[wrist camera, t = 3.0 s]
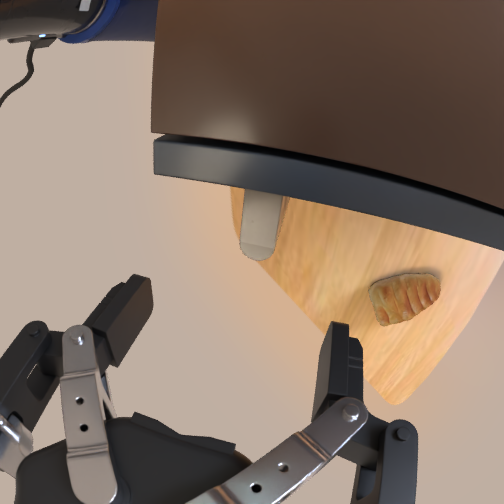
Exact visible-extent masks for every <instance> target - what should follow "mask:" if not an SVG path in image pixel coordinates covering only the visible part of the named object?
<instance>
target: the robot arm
mask: <svg viewBox="0 0 504 504" xmlns="http://www.w3.org/2000/svg"><path fill="white" fill-rule="evenodd" d="M107 3H108V0H0V40H6V39H7V41H8V42H9V43H18V42H25V41H30V42H31V44H30V47H29V50H28V54H27V59H26V63H27V67H28V73H27V75H26V76H25V78H24V79H23V80H21V81H20V82H19V83H17V84H15V85H14V86H12V87H11V88H10V89H9V90H7V91H6V92H5V93H4V94H3V96H2V97H1V98H0V107H1V105H2V103H3V102H4V100H5V99H6V98H7V96H9V95H10V94H11V93H12V92H13V91H15V90H17V89H18V88H20V87H21V86H23V85H24V84H25V83H26V82H27V81H28V80H29V79H30V78H31V76H32V74H33V72H34V67H33V63H32V56H33V52H34V49H36V48H43V47H49V46H50V45H51V44H52V43H53V42H54V41H55V40H56V38H65V37H66V36H67V35H69V34H78V33H81V32H84V31H86V30H87V29H89V28H90V27H91V26H93V25H94V24H95V23H96V22H97V20H98V19H99V18H100V17H101V15H102V13H103V12H104V10H105V8H106V6H107ZM152 310H153V296H152V288H151V280H150V278H147V277H143V276H140V275H136V274H133V275H132V276H131V277H130V278H129V279H128V281H127V282H126V283H123V282H121V283H119V284H118V285H116V286H114V287H113V288H112V289H111V290H110V291H109V292H108V293H107V295H106V297H104V299H103V300H102V301H101V303H99V305H98V306H97V307H96V308H95V310H94V311H93V312H92V313H91V314H90V316H89V317H88V318H87V320H86V321H85V322H84V323H83V324H82V325H75V326H72V327H70V328H69V329H67V330H66V331H65V332H59V331H49V329H48V327H47V325H46V324H45V323H44V322H42V321H32V322H30V323H28V324H27V325H26V326H25V327H24V328H23V329H22V330H21V332H20V333H19V334H18V336H17V337H16V338H15V339H14V341H13V342H12V344H11V345H10V346H9V348H8V349H7V350H6V352H5V353H4V354H3V356H2V357H1V358H0V471H3V472H6V473H8V474H9V475H11V476H12V477H14V478H15V479H16V495H15V501H14V504H280V503H281V502H283V501H284V500H286V499H287V498H288V497H289V496H291V495H292V494H293V493H294V492H296V491H297V490H298V489H299V488H300V487H301V486H303V485H304V484H305V483H306V482H307V481H308V480H309V479H311V478H312V477H313V476H314V475H315V474H316V473H318V472H319V471H320V470H321V469H322V468H323V467H324V466H325V465H326V464H327V463H329V462H330V461H331V460H332V459H333V458H334V457H335V456H336V455H338V456H340V457H342V458H345V459H347V460H349V461H352V462H354V463H356V464H357V467H356V474H355V480H354V486H353V492H352V498H351V503H350V504H415V496H416V483H417V463H418V462H417V461H418V433H417V430H416V428H415V427H414V426H413V425H412V424H411V423H410V422H408V421H406V420H400V419H399V420H394V421H392V422H391V423H388V422H386V421H383V420H381V419H379V418H376V417H375V416H373V415H371V414H370V413H369V412H368V410H367V408H366V406H365V405H364V402H363V348H362V346H361V344H360V342H359V340H358V339H357V338H352V337H349V324H345V323H339V322H334V321H331V323H330V325H329V328H328V331H327V333H326V336H325V338H324V341H323V344H322V347H321V350H320V355H319V362H318V372H317V381H316V389H315V397H314V404H313V412H312V419H311V422H312V423H311V424H310V425H309V426H307V427H306V428H305V429H304V430H302V431H301V432H296V433H294V434H293V435H291V436H290V437H289V438H287V439H286V440H285V441H283V442H282V443H281V444H279V445H278V446H277V447H276V448H274V449H273V450H271V451H270V452H269V453H267V454H266V455H265V456H263V457H262V458H260V459H259V460H257V461H256V462H255V463H252V462H251V461H250V460H249V459H248V458H247V457H246V456H244V455H243V454H241V453H240V452H238V451H236V450H235V446H236V444H234V443H230V442H226V441H223V440H219V439H215V438H212V437H203V436H189V435H181V434H178V433H177V432H175V431H174V430H172V429H171V428H169V427H167V426H166V425H164V424H163V423H161V422H159V421H158V420H156V419H153V418H150V417H147V416H145V415H142V414H140V413H137V412H134V414H133V416H132V417H118V418H117V415H116V412H115V409H114V406H113V402H112V397H111V392H110V386H109V381H108V376H107V371H106V369H107V368H108V366H109V364H110V365H112V366H115V367H118V366H119V365H120V363H121V362H122V360H123V358H124V357H125V355H126V354H127V352H128V350H129V349H130V347H131V345H132V344H133V342H134V341H135V339H136V338H137V336H138V334H139V333H140V331H141V330H142V328H143V326H144V325H145V323H146V322H147V320H148V319H149V317H150V315H151V313H152ZM36 364H37V365H36ZM35 365H36V366H35ZM34 366H35V368H34ZM33 368H34V369H33ZM32 369H33V371H32ZM31 371H32V372H31ZM30 372H31V374H30ZM29 374H30V375H29ZM28 376H29V377H28ZM27 377H28V378H27ZM59 383H60V391H61V403H62V412H63V421H64V429H65V436H66V439H64V440H62V441H59V442H57V443H55V444H52V445H50V446H47V447H45V448H42V449H41V450H38V451H35V452H33V453H31V452H32V451H33V437H32V434H31V433H32V431H33V429H34V427H35V426H36V424H37V422H38V420H39V418H40V416H41V415H42V413H43V411H44V409H45V407H46V406H47V404H48V402H49V400H50V399H51V397H52V395H53V393H54V392H55V390H56V388H57V387H58V385H59Z"/></svg>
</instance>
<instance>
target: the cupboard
mask: <svg viewBox="0 0 504 504" xmlns="http://www.w3.org/2000/svg"><path fill="white" fill-rule="evenodd" d="M151 132H152V133H160V134H171V135H181V136H191V137H200V138H208V139H216V140H224V141H231V142H238V143H245V144H252V145H258V146H264V147H270V148H276V149H282V150H288V151H293V152H298V153H304V154H309V155H314V156H319V157H323V158H328V159H333V160H337V161H342V162H346V163H351V164H355V165H359V166H363V167H367V168H372V169H376V170H379V171H383V172H387V173H391V174H395V175H398V176H402V177H406V178H409V179H413V180H416V181H420V182H423V183H427V184H430V185H433V186H437V187H440V188H443V189H446V190H449V191H452V192H456V193H459V194H462V195H465V196H468V197H471V198H473V199H476V200H479V201H482V202H485V203H488V204H490V205H493V206H496V207H499V208H501V209H504V0H159V2H158V11H157V21H156V32H155V44H154V58H153V76H152V101H151Z"/></svg>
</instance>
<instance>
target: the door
mask: <svg viewBox="0 0 504 504" xmlns="http://www.w3.org/2000/svg"><path fill="white" fill-rule="evenodd" d="M154 174H155V175H163V176H170V177H176V178H184V179H190V180H196V181H203V182H209V183H215V184H221V185H227V186H232V187H238V188H244V189H245V193H244V203H243V213H242V223H241V233H240V248H241V250H242V252H243V253H244V254H245V255H246V256H247V257H248V258H250V259H253V260H257V261H261V260H265V259H268V258H269V257H270V256H271V255H272V254H273V252H274V250H275V246H276V243H277V240H278V236H279V233H280V230H281V226H282V223H283V220H284V216H285V213H286V209H287V206H288V203H289V199H290V197H292V198H297V199H301V200H306V201H311V202H316V203H321V204H325V205H330V206H335V207H339V208H344V209H348V210H353V211H357V212H361V213H366V214H370V215H374V216H378V217H382V218H386V219H391V220H395V221H399V222H403V223H407V224H410V225H414V226H418V227H422V228H426V229H430V230H433V231H437V232H441V233H444V234H448V235H452V236H455V237H459V238H462V239H466V240H469V241H473V242H476V243H479V244H483V245H486V246H489V247H493V248H496V249H499V250H502V251H504V209H501V208H499V207H496V206H493V205H490V204H488V203H485V202H482V201H479V200H476V199H473V198H471V197H468V196H465V195H462V194H459V193H456V192H452V191H449V190H446V189H443V188H440V187H437V186H433V185H430V184H427V183H423V182H420V181H416V180H413V179H409V178H406V177H402V176H398V175H395V174H391V173H387V172H383V171H379V170H376V169H372V168H367V167H363V166H359V165H355V164H351V163H346V162H342V161H337V160H333V159H328V158H323V157H319V156H314V155H309V154H304V153H298V152H293V151H288V150H282V149H276V148H270V147H264V146H258V145H252V144H245V143H238V142H231V141H224V140H216V139H208V138H200V137H191V136H181V135H171V134H165V135H163V136H161V137H159V138H157V139H156V140H154Z"/></svg>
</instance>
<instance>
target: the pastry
mask: <svg viewBox="0 0 504 504" xmlns="http://www.w3.org/2000/svg"><path fill="white" fill-rule="evenodd" d="M440 290H441V289H440V281H439V280H438V279H437V278H435V277H434V276H433V275H431V274H425V273H424V274H420V273H418V274H402V275H398V276H394V277H390V278H388V279H383V280H380V281H377V282H376V283H375V284H373V285H372V286H370V288H369V290H368V292H369V297H370V300H371V302H372V304H373V307H374V311H375V314H376V318H377V320H378V322H379V323H380V325H381V326H388V325H390V324H396V323H401V322H403V321H408V320H411V319H412V318H413V317H414V316H416V315H418V314H419V313H420V312H421V311H423V310H425V309H426V308H428V307H429V306H430V305H432V304H433V302H434V301H436V300H437V299H438V297H439V295H440Z"/></svg>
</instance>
